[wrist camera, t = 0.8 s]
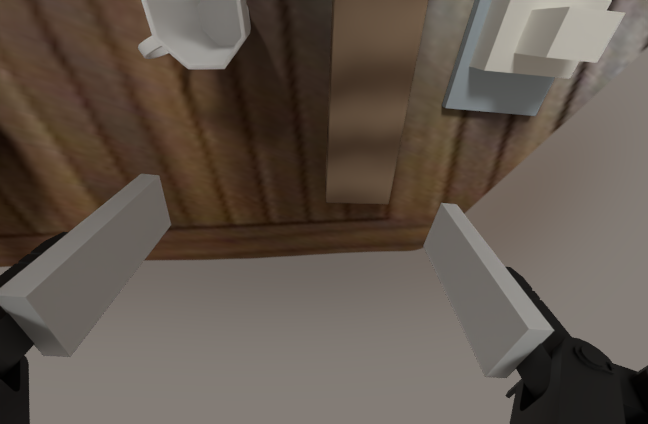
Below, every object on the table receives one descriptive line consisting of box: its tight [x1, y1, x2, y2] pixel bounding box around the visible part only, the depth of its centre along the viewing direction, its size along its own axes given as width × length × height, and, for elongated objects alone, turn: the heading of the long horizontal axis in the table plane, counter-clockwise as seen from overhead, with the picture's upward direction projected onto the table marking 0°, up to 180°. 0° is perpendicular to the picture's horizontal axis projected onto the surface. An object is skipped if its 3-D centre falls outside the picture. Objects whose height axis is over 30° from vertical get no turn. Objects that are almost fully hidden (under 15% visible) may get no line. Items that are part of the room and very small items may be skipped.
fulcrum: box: [442, 0, 625, 116], centre depth 23 cm, size 14×10×8 cm
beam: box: [325, 0, 428, 204], centre depth 25 cm, size 26×7×6 cm, turn 178°
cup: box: [138, 0, 251, 69], centre depth 22 cm, size 7×10×8 cm
